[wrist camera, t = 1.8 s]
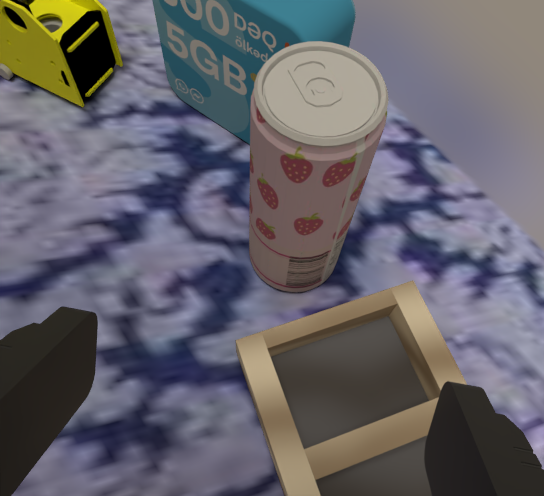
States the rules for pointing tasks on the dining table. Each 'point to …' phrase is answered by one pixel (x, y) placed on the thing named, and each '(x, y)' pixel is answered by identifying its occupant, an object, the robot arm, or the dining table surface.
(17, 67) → the yellow toy chassis
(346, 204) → the beverage can
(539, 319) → the dining table surface
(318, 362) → the board
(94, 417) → the dining table surface
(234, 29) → the data package
